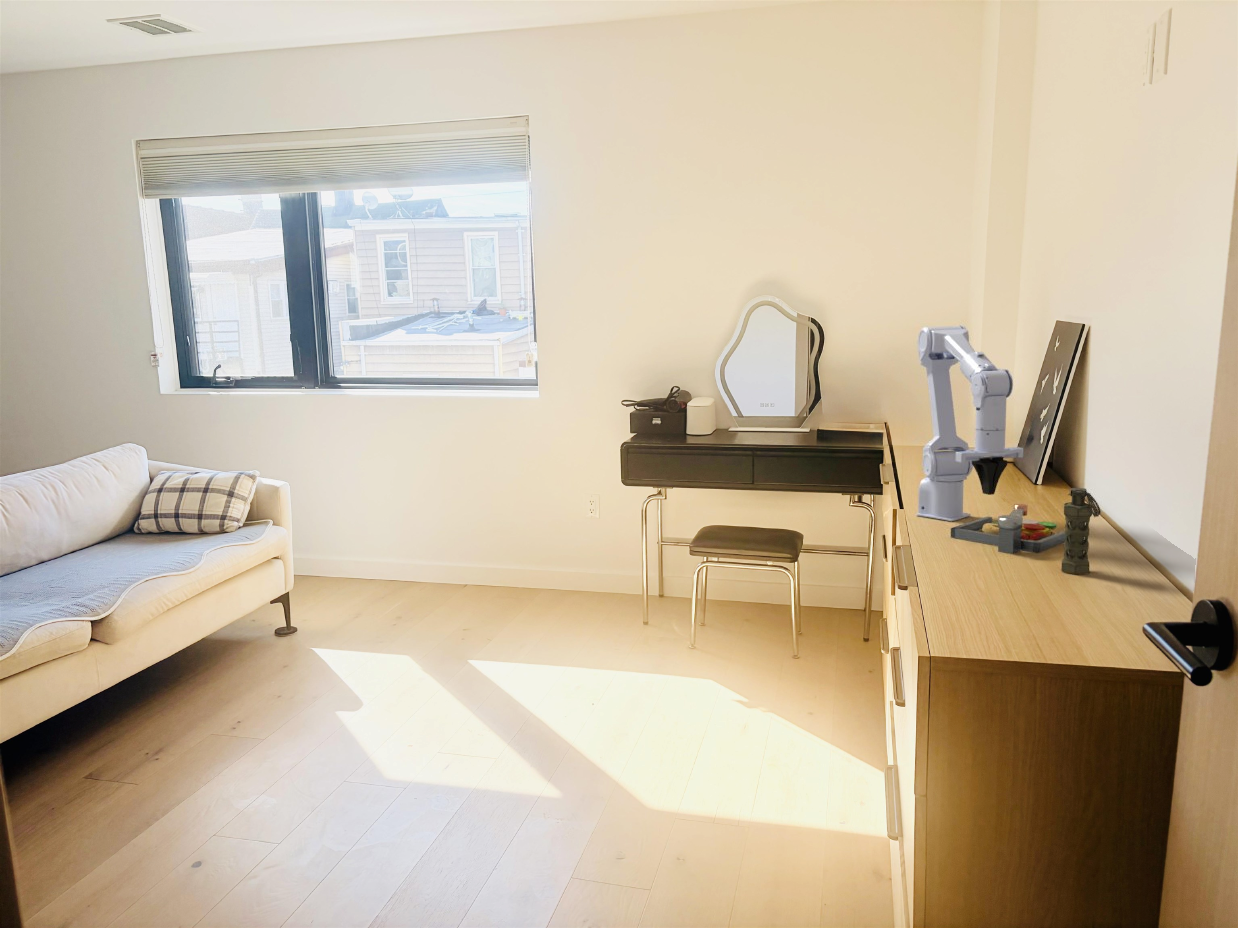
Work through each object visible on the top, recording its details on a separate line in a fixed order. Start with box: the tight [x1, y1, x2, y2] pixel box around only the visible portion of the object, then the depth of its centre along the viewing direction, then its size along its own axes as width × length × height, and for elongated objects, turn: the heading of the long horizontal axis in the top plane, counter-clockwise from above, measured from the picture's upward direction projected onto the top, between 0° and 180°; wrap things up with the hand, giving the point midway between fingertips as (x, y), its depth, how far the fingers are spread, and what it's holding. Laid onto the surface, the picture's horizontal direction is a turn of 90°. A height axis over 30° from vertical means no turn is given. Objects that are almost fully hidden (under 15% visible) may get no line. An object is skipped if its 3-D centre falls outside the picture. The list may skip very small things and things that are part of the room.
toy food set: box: [981, 518, 1058, 541], centre depth 179 cm, size 13×13×3 cm
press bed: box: [950, 516, 1069, 555], centre depth 177 cm, size 18×18×5 cm
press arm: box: [997, 503, 1028, 529], centre depth 173 cm, size 16×4×2 cm, turn 147°
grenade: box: [1061, 487, 1102, 575], centre depth 154 cm, size 9×6×15 cm, turn 153°
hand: (988, 493), depth 179 cm, fingers closed
